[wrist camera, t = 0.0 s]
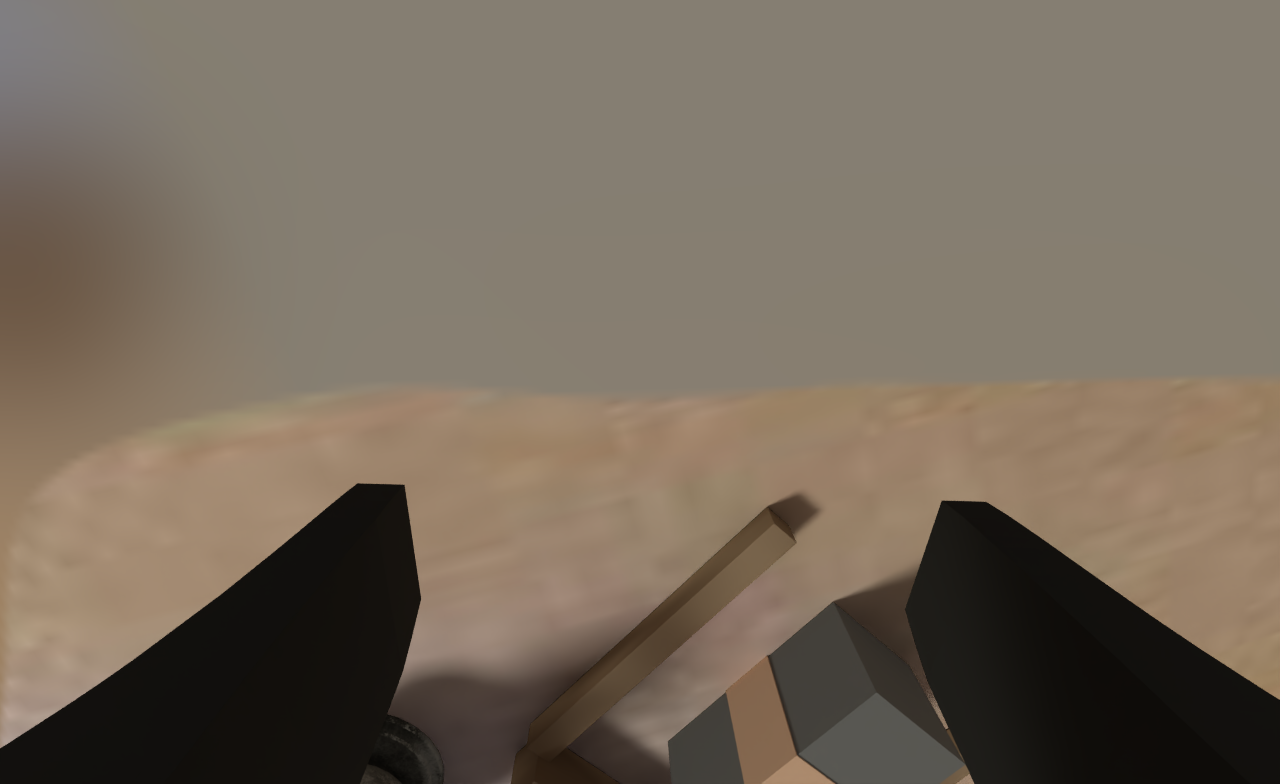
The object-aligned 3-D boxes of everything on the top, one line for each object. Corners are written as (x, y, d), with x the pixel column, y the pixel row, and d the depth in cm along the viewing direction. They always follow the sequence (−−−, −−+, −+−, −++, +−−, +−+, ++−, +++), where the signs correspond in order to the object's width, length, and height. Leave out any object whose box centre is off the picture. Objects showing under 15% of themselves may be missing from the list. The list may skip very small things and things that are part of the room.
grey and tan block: (745, 795, 25) (768, 911, 21) (666, 739, 24) (675, 851, 20) (909, 665, 23) (967, 766, 19) (831, 600, 22) (876, 692, 18)
